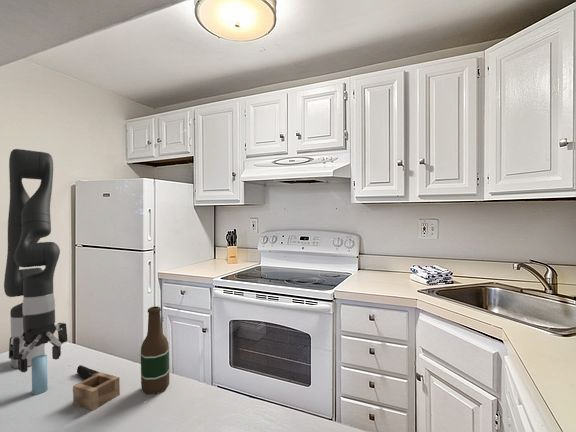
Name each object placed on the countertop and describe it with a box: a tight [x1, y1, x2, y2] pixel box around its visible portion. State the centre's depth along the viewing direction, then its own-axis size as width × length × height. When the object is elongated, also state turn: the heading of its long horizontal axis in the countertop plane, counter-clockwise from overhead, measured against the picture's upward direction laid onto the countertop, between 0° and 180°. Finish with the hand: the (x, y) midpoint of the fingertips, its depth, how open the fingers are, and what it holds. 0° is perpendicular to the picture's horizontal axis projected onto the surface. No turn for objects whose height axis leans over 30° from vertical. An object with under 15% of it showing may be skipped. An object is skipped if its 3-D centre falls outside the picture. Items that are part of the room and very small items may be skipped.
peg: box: [31, 354, 49, 395], centre depth 94 cm, size 4×4×10 cm
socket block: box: [72, 371, 121, 411], centre depth 89 cm, size 8×8×5 cm
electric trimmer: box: [76, 364, 101, 381], centre depth 100 cm, size 4×16×3 cm, turn 58°
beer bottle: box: [140, 306, 170, 396], centre depth 94 cm, size 8×8×24 cm
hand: (40, 365), depth 93 cm, fingers open, 8 cm apart
